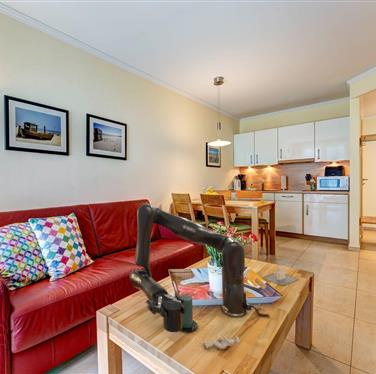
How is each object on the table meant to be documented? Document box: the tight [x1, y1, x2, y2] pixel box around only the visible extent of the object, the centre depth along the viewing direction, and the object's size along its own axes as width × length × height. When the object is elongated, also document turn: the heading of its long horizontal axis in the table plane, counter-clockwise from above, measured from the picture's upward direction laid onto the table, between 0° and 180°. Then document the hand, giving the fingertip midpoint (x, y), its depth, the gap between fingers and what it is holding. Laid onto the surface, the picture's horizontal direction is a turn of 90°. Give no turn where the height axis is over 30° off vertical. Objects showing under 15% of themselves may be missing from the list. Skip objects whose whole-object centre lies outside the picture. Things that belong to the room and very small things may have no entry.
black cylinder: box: [162, 300, 182, 333], centre depth 84 cm, size 7×7×8 cm
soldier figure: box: [203, 333, 240, 350], centre depth 84 cm, size 8×5×12 cm
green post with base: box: [179, 294, 198, 333], centre depth 97 cm, size 8×8×12 cm
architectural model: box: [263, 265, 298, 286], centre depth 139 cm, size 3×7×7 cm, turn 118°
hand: (175, 313), depth 82 cm, fingers closed on black cylinder, 7 cm apart
